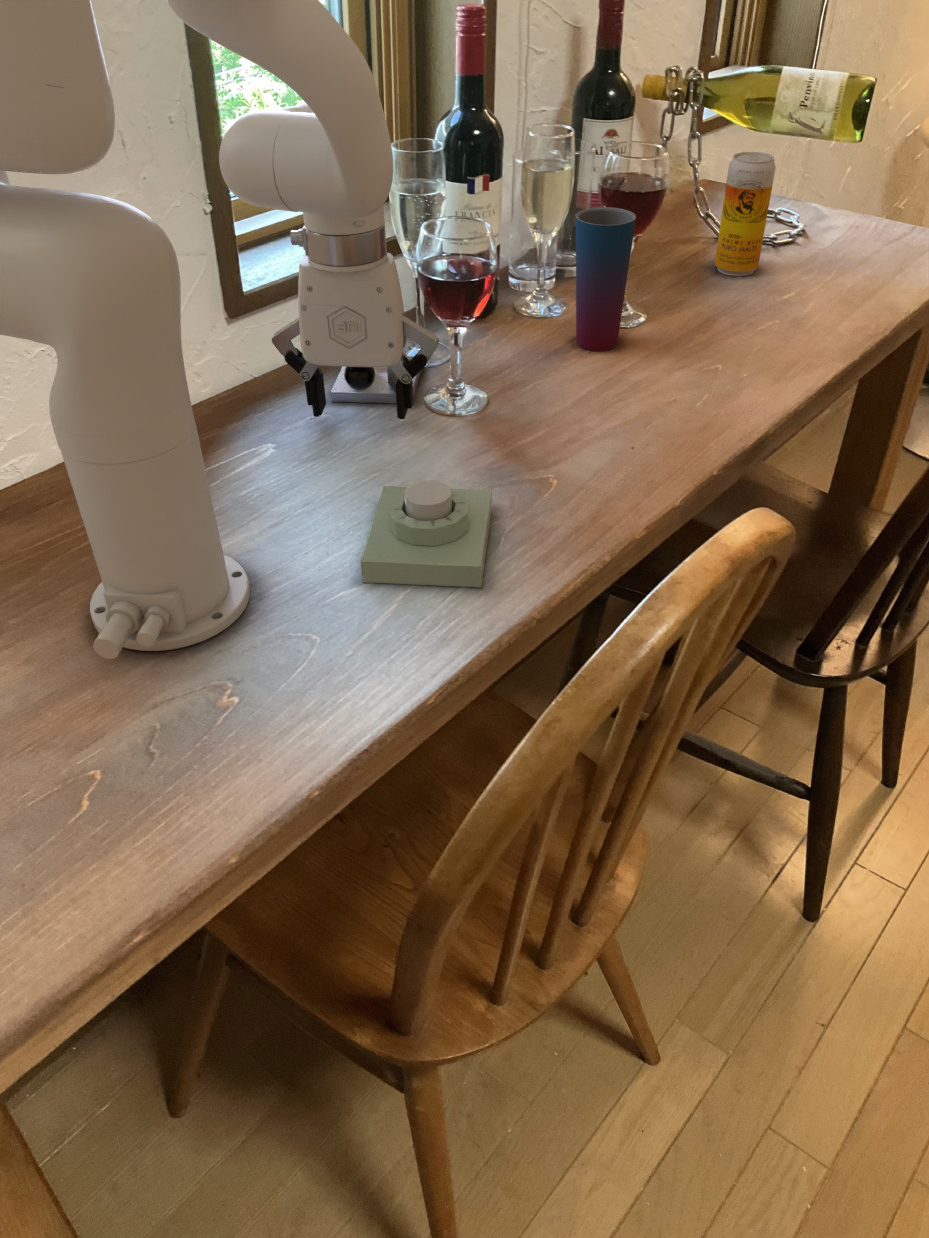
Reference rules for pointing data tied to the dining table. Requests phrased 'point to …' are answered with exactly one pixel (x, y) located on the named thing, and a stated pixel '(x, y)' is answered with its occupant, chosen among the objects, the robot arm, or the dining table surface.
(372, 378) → the flush lever
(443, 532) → the block
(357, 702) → the dining table surface
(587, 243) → the cup
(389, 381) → the lever bracket
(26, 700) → the dining table surface
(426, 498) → the beige push button
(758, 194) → the beer can
